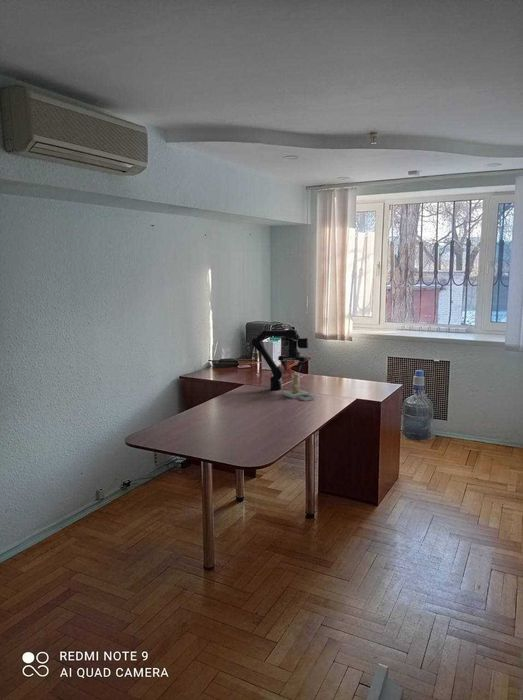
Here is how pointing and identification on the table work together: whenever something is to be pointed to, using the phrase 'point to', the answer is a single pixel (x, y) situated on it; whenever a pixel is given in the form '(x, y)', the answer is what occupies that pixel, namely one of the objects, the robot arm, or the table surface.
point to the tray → (289, 394)
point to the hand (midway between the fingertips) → (292, 371)
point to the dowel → (295, 383)
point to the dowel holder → (305, 397)
